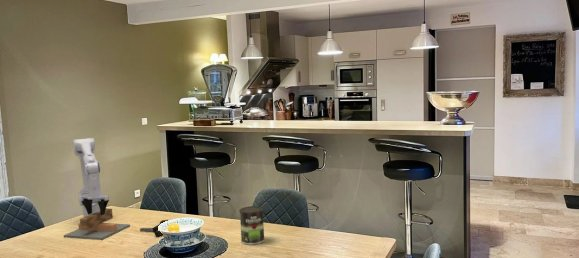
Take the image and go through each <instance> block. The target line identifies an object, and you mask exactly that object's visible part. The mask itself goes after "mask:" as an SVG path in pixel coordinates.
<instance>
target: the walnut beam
mask: <svg viewBox="0 0 579 258" xmlns="http://www.w3.org/2000/svg"><path fill="white" fill-rule="evenodd" d="M113 218H114V217H113V208H108V207H106V210H105V214H104V215H101V214H100V211H99V212H96V213H94V214H91V215H89V216H86V217H82V218H80V219H79V223H80V225H81V229H83V230H88V229H90V228H92V227H94V226H97V225H99V224H101V223H107V222H108V221H111V220H112V219H113Z"/></svg>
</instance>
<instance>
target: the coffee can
mask: <svg viewBox="0 0 579 258" xmlns="http://www.w3.org/2000/svg"><path fill="white" fill-rule="evenodd" d="M239 219H240V220H239V222H240V237H241V239H240V243H241V244H242V245H243V244H244V245H247V246H249V245H250V246H251V245H259V244H262V243H264V242H265V229H264V228H265V227H264V226H265V224H264V223H265V222H264V208H263V207H261V206H258V205H256V206H253V205H252V206H244V207H241V208H240V209H239Z"/></svg>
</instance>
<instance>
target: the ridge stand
mask: <svg viewBox="0 0 579 258" xmlns="http://www.w3.org/2000/svg"><path fill="white" fill-rule="evenodd" d="M77 226H78V229H74V230H72V231H71V232H68V233H65V234H64V235H63V238H68V239H69V238H70V239H86V240H99V241H103V240H105V239H107V238H109V237H111V236H114V235H115V234H117V233H119V232H122V231H123V230H124V231H125V230H126V229H127V228H129V227H131V224H127V223H114V222H113V223H111V222H103V223H101V224H99V225H97V226H94V227H92V228H90V229H88V230H83V229H81V225H80V222H79V223H78V224H77Z"/></svg>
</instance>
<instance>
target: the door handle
mask: <svg viewBox="0 0 579 258" xmlns="http://www.w3.org/2000/svg"><path fill="white" fill-rule="evenodd" d="M168 220H169V219H162V220H160V222H159V224H158V225H156V226H154V227H141V228H139V232H141V233H153V234H154V236H155V237H156V238H157V237H161V236H163V235H162V233H161V232H160V231H158V226H159V225H160V224H161V223H163V222H165V221H168Z"/></svg>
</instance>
